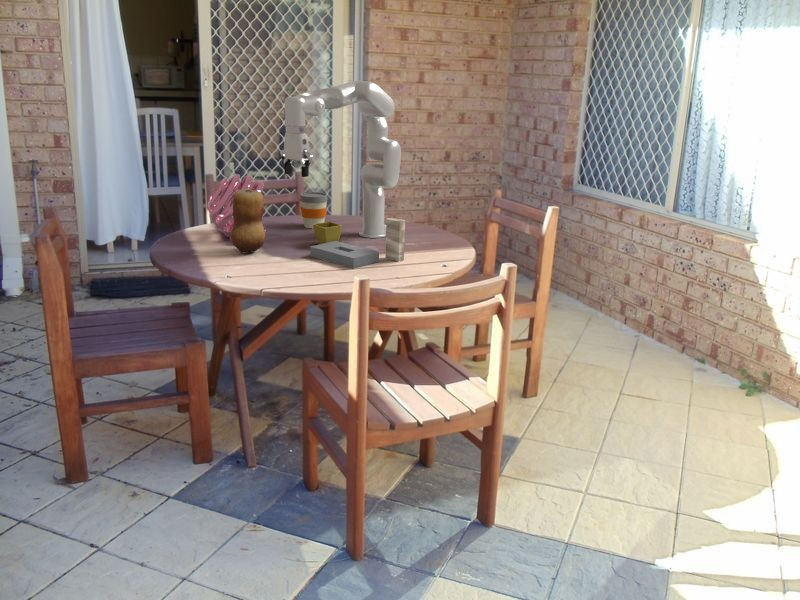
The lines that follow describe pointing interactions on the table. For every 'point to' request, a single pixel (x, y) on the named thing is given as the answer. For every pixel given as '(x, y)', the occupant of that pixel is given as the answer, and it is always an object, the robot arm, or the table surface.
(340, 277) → the table surface
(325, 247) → the grey slotted tile
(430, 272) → the table surface
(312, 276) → the table surface
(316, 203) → the reusable coffee cup
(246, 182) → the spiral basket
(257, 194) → the butternut squash
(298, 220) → the table surface
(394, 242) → the pine slat
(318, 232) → the flower pot
